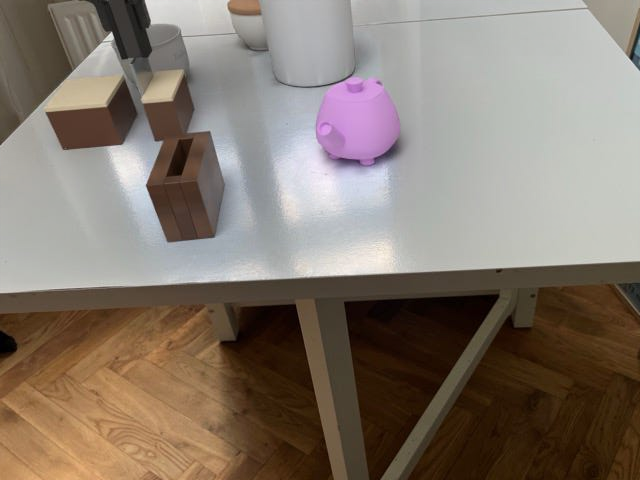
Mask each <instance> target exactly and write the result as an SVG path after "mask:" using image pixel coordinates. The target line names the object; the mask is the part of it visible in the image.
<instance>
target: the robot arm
mask: <svg viewBox="0 0 640 480" xmlns="http://www.w3.org/2000/svg"><path fill="white" fill-rule="evenodd" d="M78 1H79V2H82V1H84V2H88V3H90V4H91V5H93V7H94V8H95V11H96V13H97V16H98V19H99V22H100V24H101V28H102V29H103V30H104V32H107V33H109V32H111V34H112V37H113V39H115V42H116V45H117V48H118V51H119V54H120V56H121V59H122V60H124V59H128V58H127V55H126V52H125V49H124V46H123V44H122V41H121V38H120V35H119V32H118V29H117V26H116V23H115V20H114V18H113V15H112V12H111V9H110V6H109V3H108V0H78ZM125 6H126V9H127V12H128V15H129V18H130V21H131V24H132V27H133V30H134V33H135V36H136V39H137V43H138V46H139V49H140V52H141V55H142V58H148V57H149V56H150V54H151V52H152V47H151V44H150V41H149V38H148V35H147V32H146V28H149V27H150V25H152V20H151V16H150V13H149V10H148V7H147V3H146V0H128V2H127V3H126V4H125Z"/></svg>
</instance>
